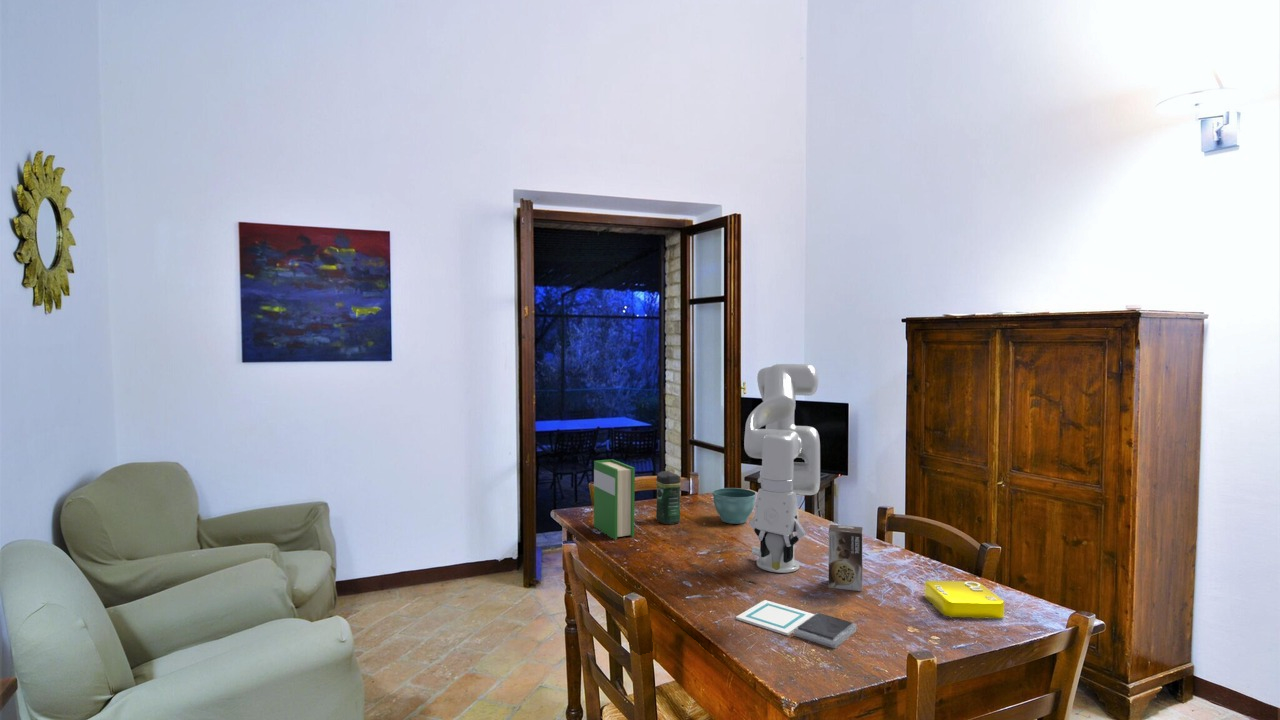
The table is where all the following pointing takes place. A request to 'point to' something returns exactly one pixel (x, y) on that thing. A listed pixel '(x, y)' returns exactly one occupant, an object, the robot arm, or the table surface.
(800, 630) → the ink pad
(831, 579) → the coffee box
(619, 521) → the hardback book
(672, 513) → the coffee jar
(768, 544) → the light bulb
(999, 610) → the element tile
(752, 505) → the flower pot
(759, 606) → the marked board
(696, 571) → the table surface
